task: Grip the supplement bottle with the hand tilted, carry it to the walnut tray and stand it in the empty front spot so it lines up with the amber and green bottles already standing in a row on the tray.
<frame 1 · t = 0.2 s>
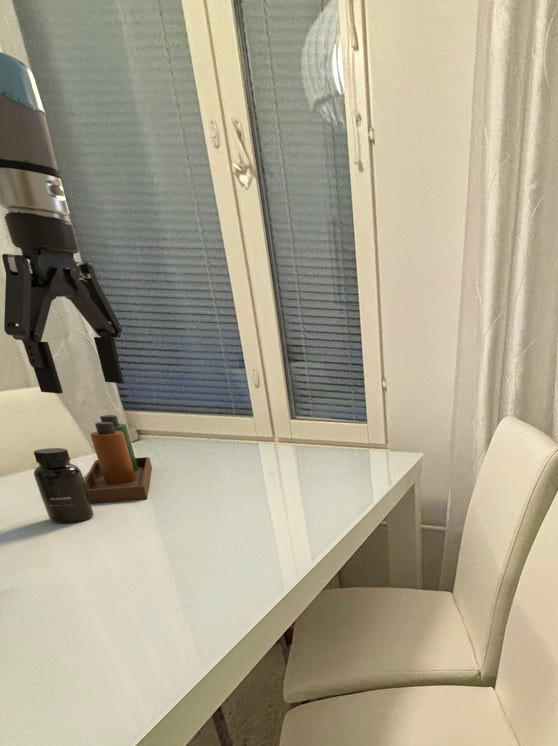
hand: (85, 387, 85), 23 cm above the table, tool pointing down, fingers open, 13 cm apart
supplement bottle: (73, 519, 100), on the table
tray: (121, 484, 121), on the table
row bottles: (120, 481, 121), resting on tray
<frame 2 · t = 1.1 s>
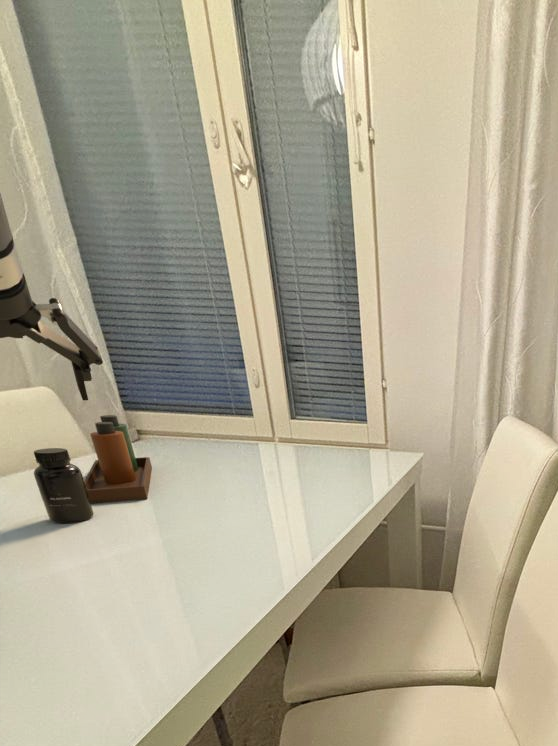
hand: (29, 395, 82), 22 cm above the table, tool tilted 45°, fingers open, 13 cm apart
nothing on the table moved.
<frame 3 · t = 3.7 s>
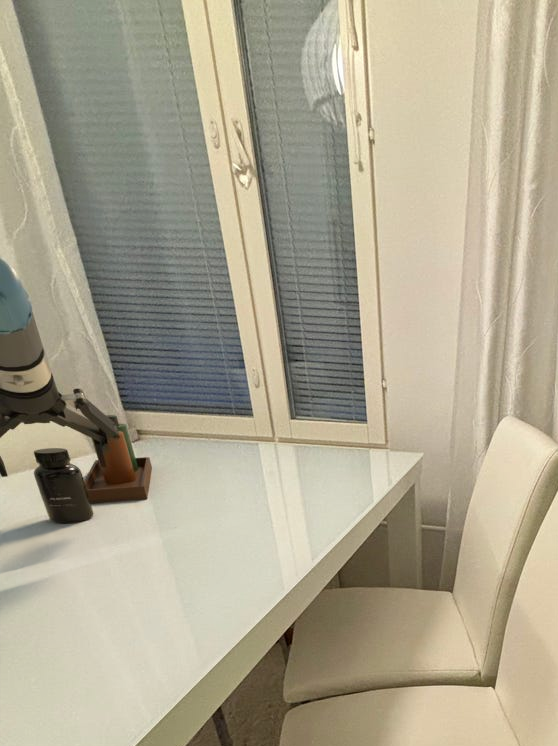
hand: (54, 465, 91), 11 cm above the table, tool tilted 45°, fingers open, 13 cm apart
nothing on the table moved.
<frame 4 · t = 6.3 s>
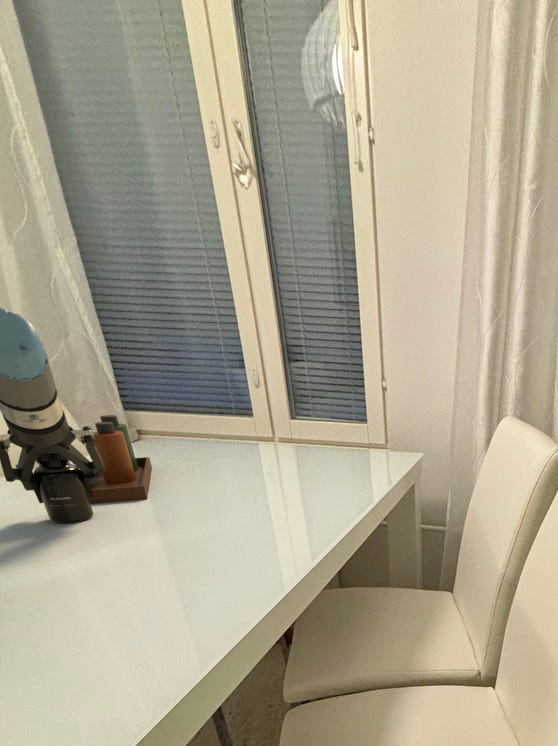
hand: (65, 493, 101), 4 cm above the table, tool tilted 45°, fingers closed on supplement bottle, 7 cm apart
supplement bottle: (73, 519, 100), on the table, touching gripper
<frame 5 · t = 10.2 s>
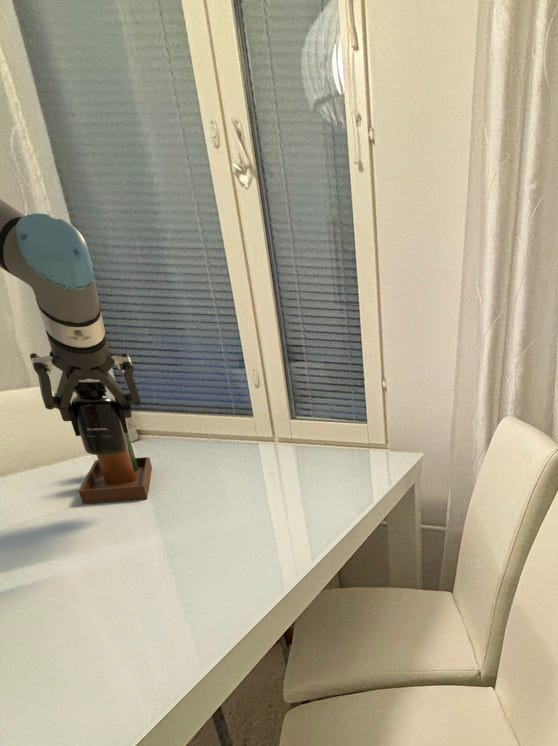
hand: (100, 428, 102), 14 cm above the table, tool tilted 45°, fingers closed on supplement bottle, 7 cm apart
supplement bottle: (108, 453, 101), point 10 cm above the table, touching gripper
when the fingers open (4 cm above the table, at t = 13.9 s): supplement bottle stays where it is, resting on tray.
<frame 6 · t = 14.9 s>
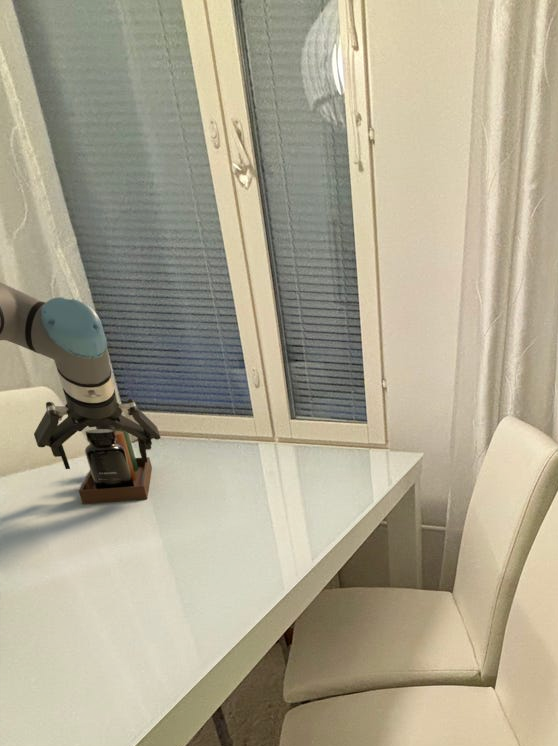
hand: (106, 460, 112), 7 cm above the table, tool tilted 45°, fingers open, 13 cm apart
supplement bottle: (117, 492, 114), resting on tray
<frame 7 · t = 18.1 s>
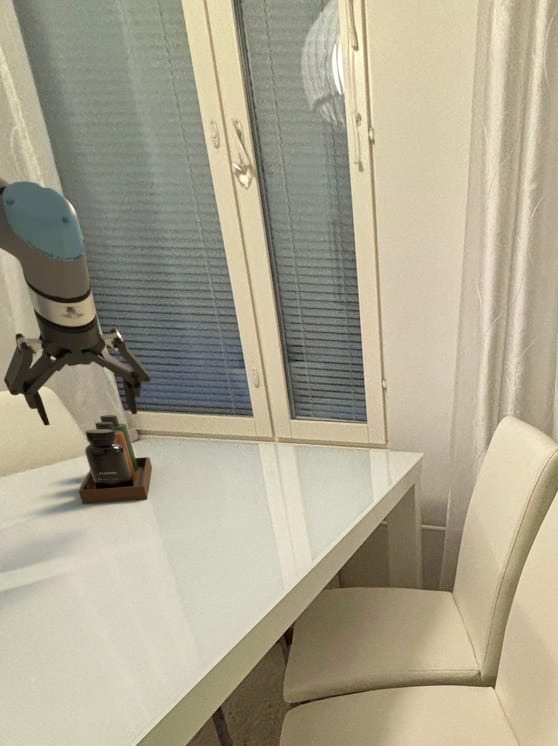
hand: (89, 413, 97), 17 cm above the table, tool tilted 40°, fingers open, 13 cm apart
nothing on the table moved.
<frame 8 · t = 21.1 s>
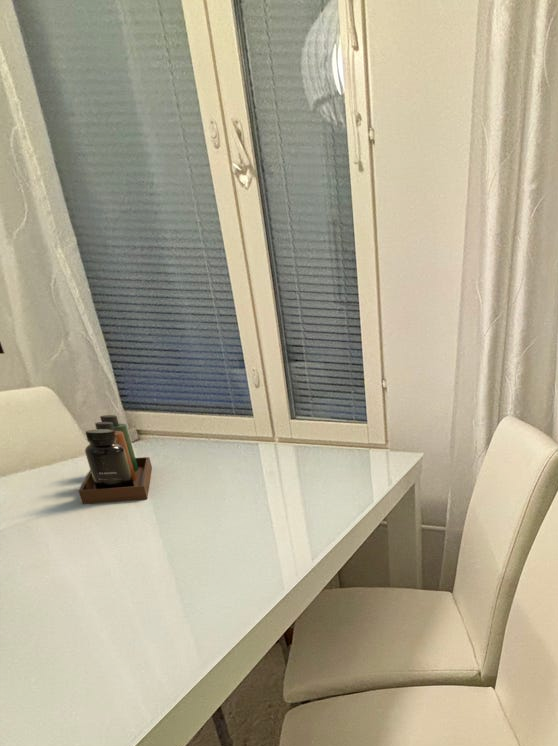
nothing on the table moved.
at the end: supplement bottle 0.1 cm from the target spot in the tray, point 0.4 cm above the tray's base; supplement bottle tilted 0°; the gripper is holding nothing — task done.
